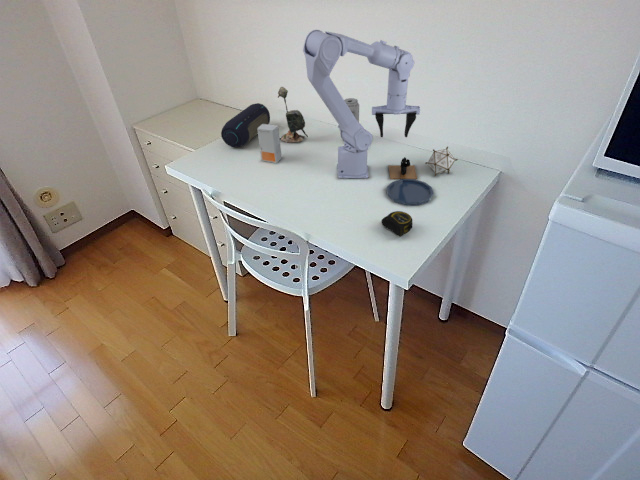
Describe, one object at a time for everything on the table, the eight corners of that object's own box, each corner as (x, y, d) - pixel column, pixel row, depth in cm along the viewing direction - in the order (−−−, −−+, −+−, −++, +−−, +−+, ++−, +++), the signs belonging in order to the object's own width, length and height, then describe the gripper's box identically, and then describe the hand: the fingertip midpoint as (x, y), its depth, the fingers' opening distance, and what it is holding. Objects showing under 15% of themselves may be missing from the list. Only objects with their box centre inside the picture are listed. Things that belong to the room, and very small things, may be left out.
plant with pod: (298, 147, 146) (294, 92, 133) (276, 140, 152) (270, 86, 139) (313, 140, 150) (310, 85, 138) (291, 132, 156) (286, 80, 144)
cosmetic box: (261, 161, 138) (256, 128, 131) (267, 155, 141) (262, 123, 134) (276, 163, 136) (272, 130, 129) (282, 158, 140) (278, 125, 132)
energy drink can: (361, 140, 149) (362, 99, 139) (352, 145, 145) (352, 104, 136) (348, 136, 152) (349, 96, 142) (339, 141, 148) (338, 101, 139)
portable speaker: (244, 152, 144) (240, 126, 138) (220, 149, 147) (215, 123, 141) (275, 126, 162) (272, 101, 156) (253, 123, 165) (249, 99, 159)
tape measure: (379, 227, 106) (380, 216, 103) (399, 218, 109) (400, 207, 106) (397, 240, 101) (398, 228, 99) (417, 230, 104) (418, 218, 102)
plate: (388, 205, 114) (388, 202, 113) (385, 181, 124) (386, 178, 123) (435, 205, 113) (436, 202, 112) (429, 182, 123) (429, 179, 122)
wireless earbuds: (400, 167, 130) (401, 153, 127) (407, 167, 130) (409, 153, 127) (401, 178, 125) (403, 163, 121) (409, 178, 124) (411, 163, 121)
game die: (443, 185, 128) (458, 171, 119) (418, 175, 128) (432, 160, 118) (449, 162, 131) (465, 146, 122) (425, 152, 131) (439, 136, 121)
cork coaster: (390, 179, 125) (390, 178, 125) (388, 166, 132) (388, 165, 132) (417, 179, 125) (417, 178, 124) (414, 166, 131) (414, 165, 131)
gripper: (373, 97, 117) (371, 141, 126) (423, 97, 116) (418, 141, 124) (372, 90, 123) (370, 132, 131) (420, 89, 122) (415, 131, 130)
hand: (393, 135), depth 128 cm, fingers open, 7 cm apart
